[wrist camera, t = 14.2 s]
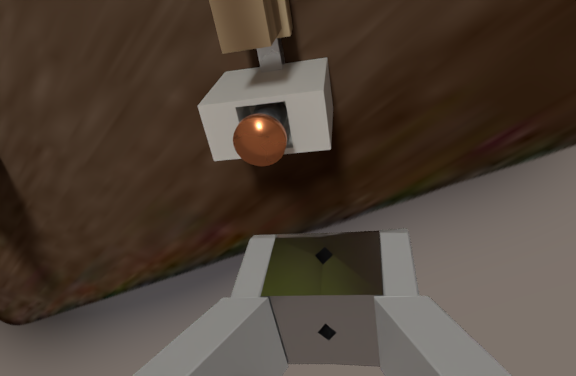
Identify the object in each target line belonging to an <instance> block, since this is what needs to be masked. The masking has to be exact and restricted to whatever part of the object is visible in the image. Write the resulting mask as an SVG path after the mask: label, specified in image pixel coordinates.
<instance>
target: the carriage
mask: <svg viewBox="0 0 576 376" xmlns="http://www.w3.org/2000/svg"><path fill="white" fill-rule="evenodd" d="M209 2H210V6H211V10H212V14H213V18H214V22H215V26H216V30H217V34H218V38H219V42H220V46H221V50H222V54H223V53H230V52H237V51H243V50H250V49H257V48H263V47H270V46H272V44H273V42H274V41H275V39H276V38H282V37H288V36H291V34H292V30H293V25H292V18H291V12H290V5H289V0H209Z"/></svg>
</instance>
